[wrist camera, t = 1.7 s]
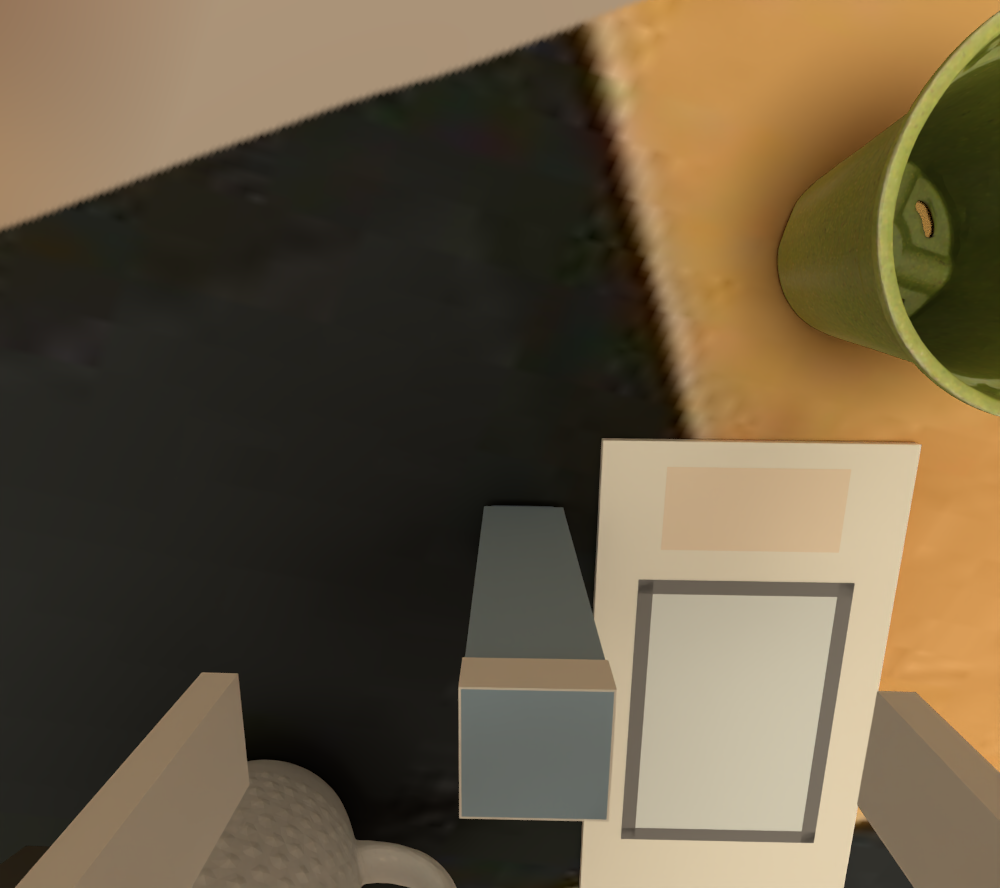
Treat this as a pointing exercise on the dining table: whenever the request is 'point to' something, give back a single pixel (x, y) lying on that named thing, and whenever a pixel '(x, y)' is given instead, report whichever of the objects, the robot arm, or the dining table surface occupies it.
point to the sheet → (741, 654)
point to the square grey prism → (533, 678)
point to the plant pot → (914, 233)
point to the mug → (305, 840)
